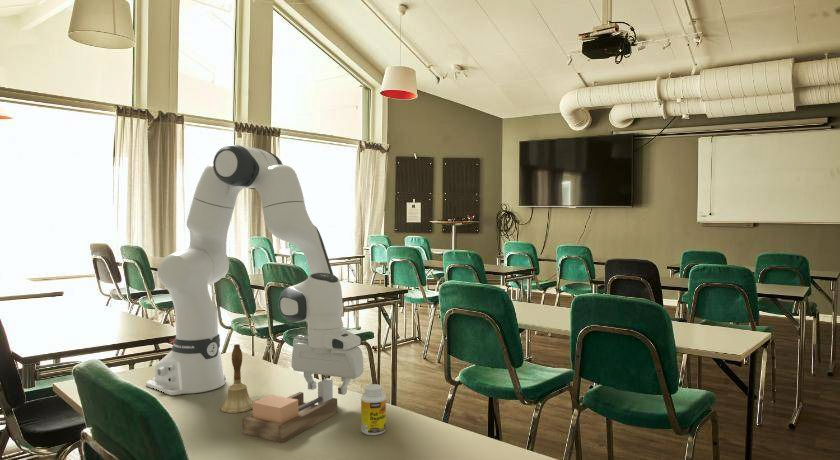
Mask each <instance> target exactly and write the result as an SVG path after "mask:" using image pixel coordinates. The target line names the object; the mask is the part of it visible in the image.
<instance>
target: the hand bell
mask: <svg viewBox="0 0 840 460" xmlns="http://www.w3.org/2000/svg"><path fill="white" fill-rule="evenodd" d="M240 346H241V345H240V344H239V343H238V344H237V343H236V344H234V345H233V348H232V352H231V364H232V367H233V383H232V384H231V385H230V386H228V388H227V389H228V390H227V396H226V400H225V402H224V403H223V404H222V405H221V407H220V411H221V412H223V413H228V414H238V413H244V412H247V411H250V410H253V402H254V401H253V400H252V399H251V397H250V395H249V393H248V387H247V385H246V384H245V383H242V378H241V376H242V375H241V373H242V372H241V370H242V369H241V368H242V363H243V352H242V348H241V347H240Z"/></svg>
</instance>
